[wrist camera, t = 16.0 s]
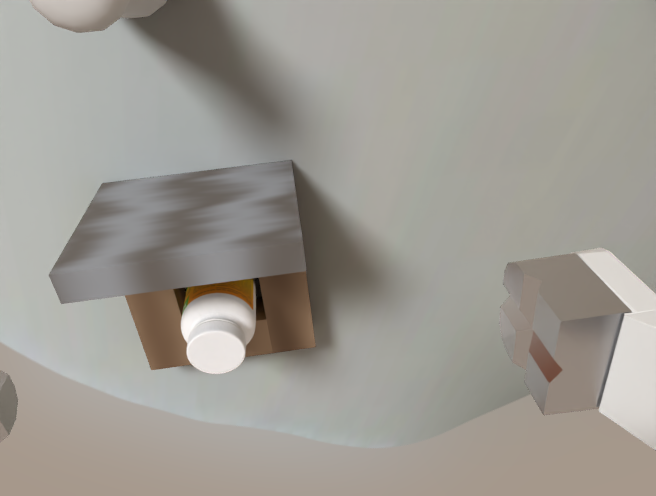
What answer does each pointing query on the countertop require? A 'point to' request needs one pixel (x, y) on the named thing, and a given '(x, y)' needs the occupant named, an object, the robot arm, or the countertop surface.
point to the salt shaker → (93, 12)
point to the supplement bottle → (219, 324)
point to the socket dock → (193, 253)
